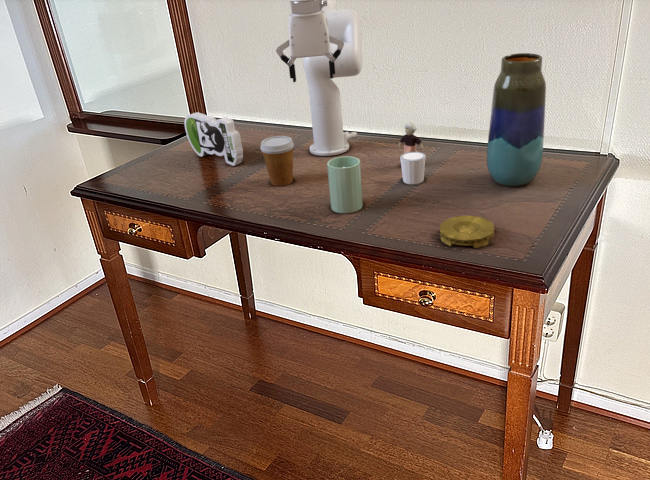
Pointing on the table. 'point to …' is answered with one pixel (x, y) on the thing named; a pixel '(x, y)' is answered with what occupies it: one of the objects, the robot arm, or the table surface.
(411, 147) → the grandmother figurine
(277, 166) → the disposable coffee cup
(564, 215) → the table surface
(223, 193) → the table surface
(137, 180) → the table surface
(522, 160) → the vase
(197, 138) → the cutout
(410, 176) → the shot glass
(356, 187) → the tube
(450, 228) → the compass
